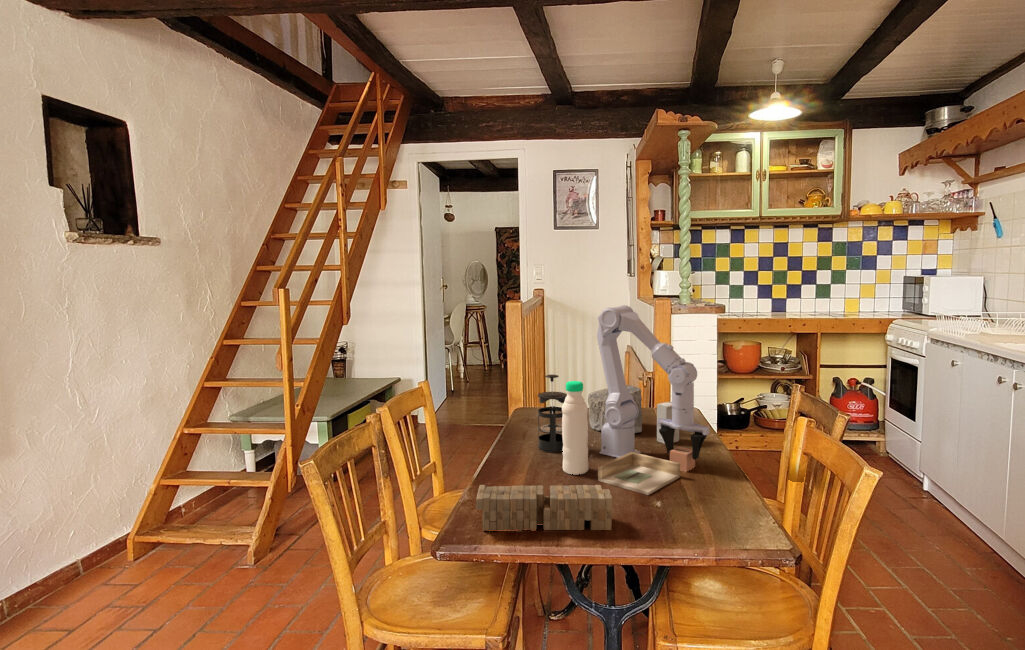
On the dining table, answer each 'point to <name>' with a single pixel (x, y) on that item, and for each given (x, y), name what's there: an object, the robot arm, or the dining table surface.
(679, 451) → the terracotta cube
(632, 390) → the grey brown chunky block
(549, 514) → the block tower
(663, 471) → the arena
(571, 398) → the milk bottle
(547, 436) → the french press
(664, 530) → the dining table surface
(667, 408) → the skincare box
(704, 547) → the dining table surface
